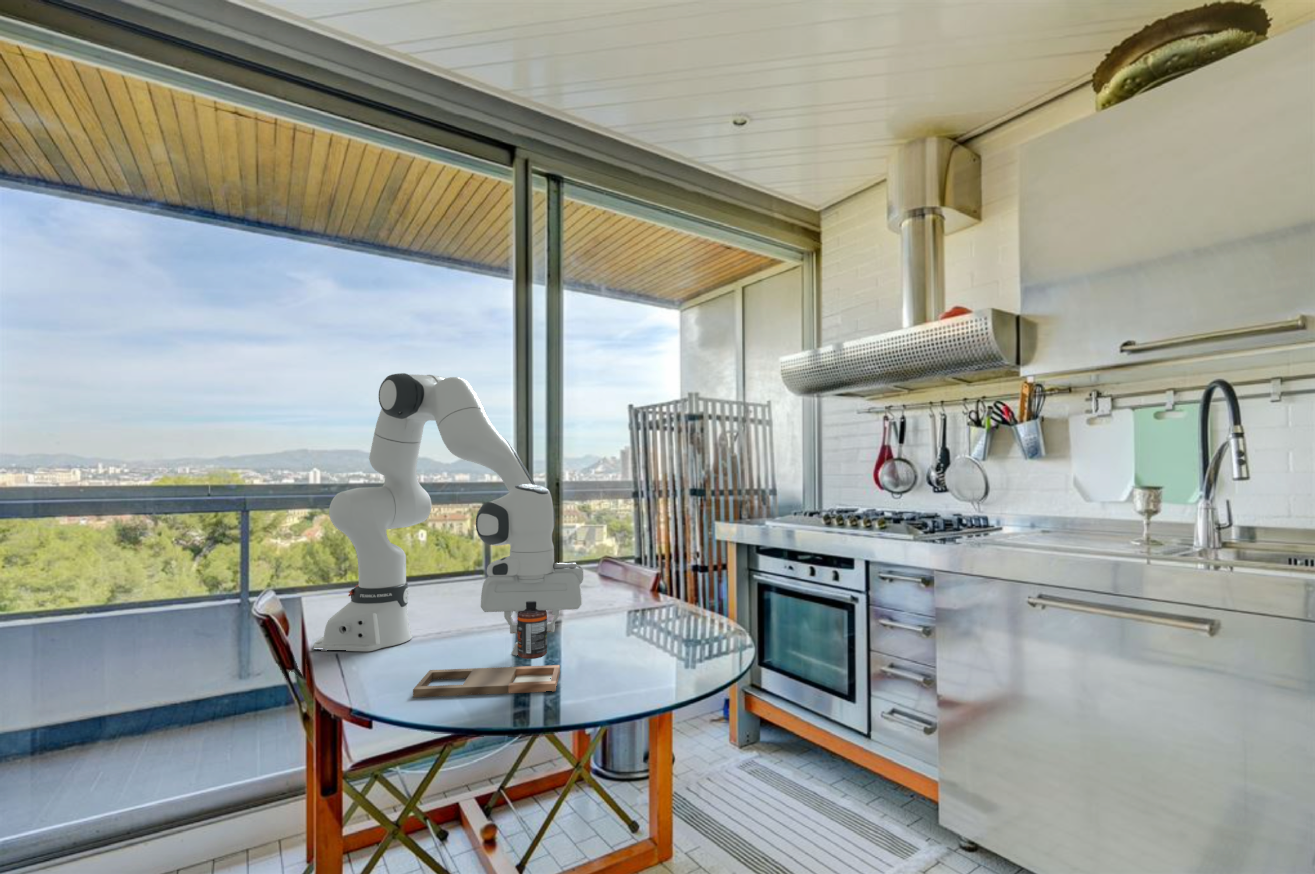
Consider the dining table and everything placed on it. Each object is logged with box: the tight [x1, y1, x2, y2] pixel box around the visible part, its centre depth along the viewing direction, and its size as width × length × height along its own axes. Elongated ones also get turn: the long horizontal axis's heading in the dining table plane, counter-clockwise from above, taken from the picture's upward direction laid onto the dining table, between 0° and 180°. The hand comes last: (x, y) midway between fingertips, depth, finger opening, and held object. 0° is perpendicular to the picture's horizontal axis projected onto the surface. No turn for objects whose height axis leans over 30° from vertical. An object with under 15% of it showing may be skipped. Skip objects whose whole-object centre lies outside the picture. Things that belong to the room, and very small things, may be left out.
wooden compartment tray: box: [412, 664, 561, 698], centre depth 124 cm, size 27×11×2 cm, turn 94°
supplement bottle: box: [516, 601, 548, 660], centre depth 125 cm, size 6×6×11 cm
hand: (532, 632), depth 125 cm, fingers closed on supplement bottle, 6 cm apart
